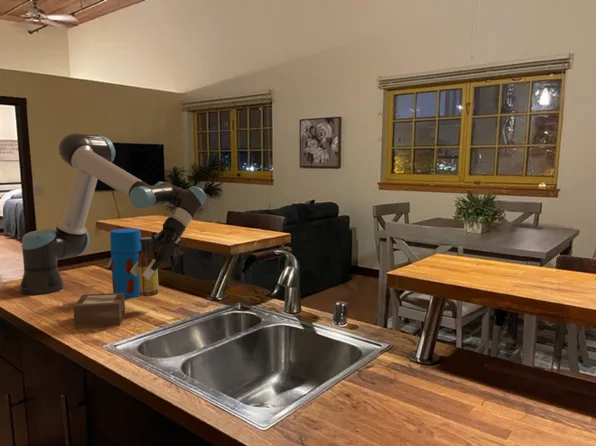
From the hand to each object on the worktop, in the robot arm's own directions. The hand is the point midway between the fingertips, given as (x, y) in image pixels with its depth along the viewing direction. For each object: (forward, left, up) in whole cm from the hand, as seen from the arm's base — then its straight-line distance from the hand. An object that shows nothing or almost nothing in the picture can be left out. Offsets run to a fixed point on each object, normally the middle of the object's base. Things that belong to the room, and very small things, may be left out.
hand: (139, 275), depth 153 cm
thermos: (-22, -7, -13) cm, 27 cm away
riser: (+6, -12, -13) cm, 18 cm away
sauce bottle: (-2, +3, -8) cm, 8 cm away
